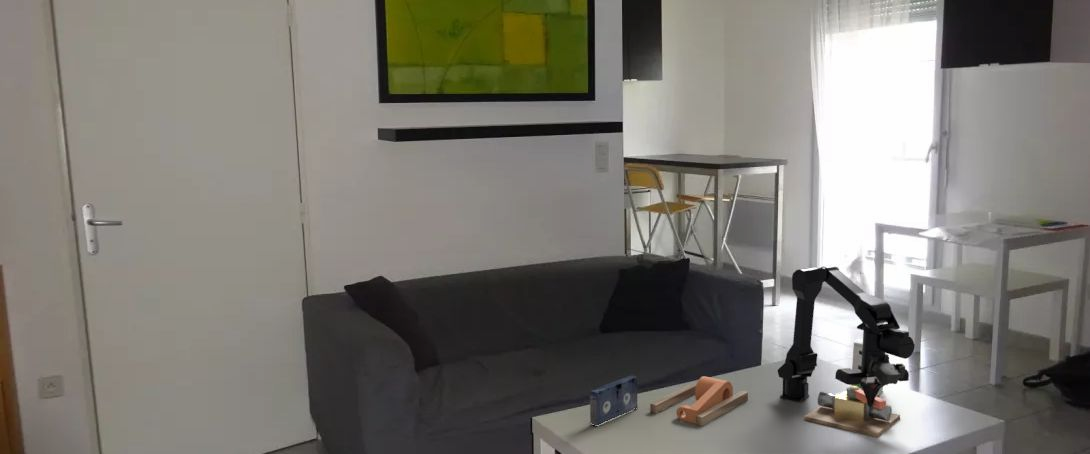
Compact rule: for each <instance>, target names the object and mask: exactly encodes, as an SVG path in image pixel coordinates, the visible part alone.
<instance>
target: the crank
mask: <svg viewBox="0 0 1090 454" xmlns="http://www.w3.org/2000/svg"><path fill="white" fill-rule="evenodd" d="M697 381H698V382H697V385H696V389H695V394H694V396H695V400H696V401H695V402H694V403H693V404H692V405H691V406H690V405H687V404H684V405H683V404H682V405H681V406H679V407H678V408H677V409H676V413H675V414H676V416H677V418H678V419H679V420H681V421H685V422H688V423H693V424H696V415H698V414H700V413H702V412H703V411H705V410H707V409H709V408H711V407H713V406H715V405H716V404H718V403H720V402H722V401H724V400H726V399H727V398H729V397H731V396H733V395H734V387H733V384H732V382H730V381H728V380H724V379H718V378H713V377H709V376H705V375H704V376H703V375H702V376H701V377H700V378H699V379H698V380H697Z"/></svg>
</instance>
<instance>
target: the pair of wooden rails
mask: <svg viewBox="0 0 1090 454" xmlns="http://www.w3.org/2000/svg"><path fill="white" fill-rule="evenodd" d="M697 382H698V380H696V381H694V382H693V383H690V384H688V385H687V386H683V387H682V388H680V389H678V390H675V391H673V392H672V393H670V394H667V395H665V396H663V397H661V398H659V399H657V400H655V401H653V402H651V403H650V406H649V407H650V408H649V409H650V410H649V411H652V412H655V413H654V414H656V413H657V412H659V411H661V410H663V409H664V410H666V409H668V408H670V407H672V406H675V405H676V404H678V403H680V402H682V401H685V400H686V399H688V398H690V397H692V396H695V389H696V385H697ZM747 401H749V392H748V391H745V390H741V391H738V392H737V393H735V394H733V396H731V397H729V398H727V399H726V400H724V401H722V402H720V403H718V404H716V405H715V406H713V407H711V408H709V409H707V410H705V411H703V412H702V413H700V414H698V415H696V423H695V425H696V426H697V425H698V426H701V427H702V426H705V425H707V424H708V423H710V422H712V421H714V420H716V419H717V418H719V417H721V416H722V415H724V414H726V413H728V412H729V411H731V410H733V409H734V408H737V407H739V406H740V405H742V404H744V403H745V402H747ZM671 405H672V406H671ZM669 406H670V407H669ZM665 408H666V409H665ZM664 410H663V411H664ZM652 412H651V413H652ZM661 412H662V411H661ZM659 413H660V412H659ZM657 414H658V413H657Z"/></svg>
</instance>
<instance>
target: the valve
mask: <svg viewBox="0 0 1090 454" xmlns="http://www.w3.org/2000/svg"><path fill="white" fill-rule="evenodd" d="M846 394H847V390H844V391H838V392H837V393H835V394H834V393H830V392H825V391H820V392H819V394H818V396H817V405H818V407H819V406H823V407H828V408H832V409H833V410H832V413H834V415H837V416H841V417H846V418H850V419H854V420H859V421H865V420H867V421H869V420H870V419H872V418H877V419H881V420H885V421H889V420H890V418H891V413H893V412H892V410H893V409H892V406H890V405H887V404H886V408H883V409H878V408H876V407H874V406H872V407H869V406H868V405H867V403H865V402H863V401H861V400H859V399H854V398H849V397H847V396H846Z"/></svg>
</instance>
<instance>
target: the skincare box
mask: <svg viewBox="0 0 1090 454" xmlns="http://www.w3.org/2000/svg"><path fill="white" fill-rule="evenodd" d="M862 345H863V337H858V338H857V339H856V340H855V341H854V342H853V346H852V347H853V350H852V366H851V369H853V370H855V371H857V372H861V370H859V369H858V365H861V361H862V355H860V354H859V350H862ZM850 386H857V387H859V388H861V389H862V387H861V385H860V383H859V384H856V385H850ZM883 389H884V386H883V387H882V388H880V390H879V392H878V393H877V395H876V397H879V396H880V395H881V393H882V392H883ZM862 390H863V389H862Z"/></svg>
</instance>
